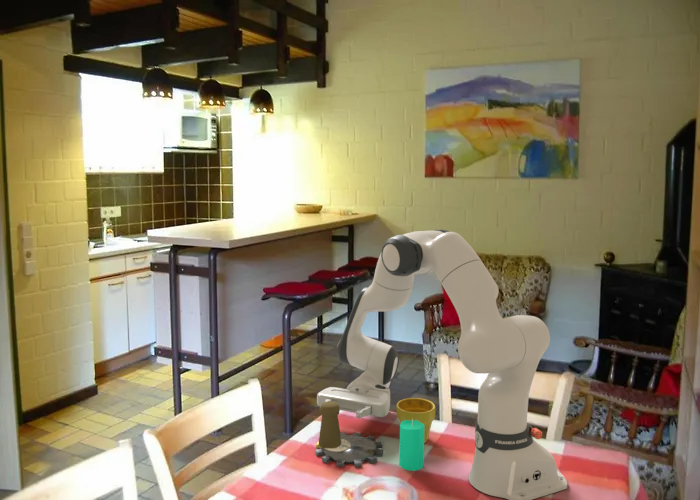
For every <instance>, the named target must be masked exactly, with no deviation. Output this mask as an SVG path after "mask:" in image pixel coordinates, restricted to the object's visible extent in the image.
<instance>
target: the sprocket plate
mask: <svg viewBox="0 0 700 500" xmlns="http://www.w3.org/2000/svg"><path fill="white" fill-rule="evenodd" d="M340 436H341V445H340V446H338V447H336V448H323V447H321V446H320V445H319V441H317V443H316V444H315V453H314V454H315V455H316V457H321V461H322V462H323V463H325V464H329V463H331V462H334V463H336V467H340V468H345V466H346V465H353V467H354V468H359V467H360V468H361V467H363V463H365V462H368V463H370V464H372V465H373V464H374V463H376V462H377V461H378V457H383V455H384V448H383V447H384V445H383V443H382V442H381V441H376V438H375V436H373V435H368V436H365V437H364V436H362V434H361V432H354V433H353V434H351V435H350V434H348V435H347V434H346V433H345V432H340Z"/></svg>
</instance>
